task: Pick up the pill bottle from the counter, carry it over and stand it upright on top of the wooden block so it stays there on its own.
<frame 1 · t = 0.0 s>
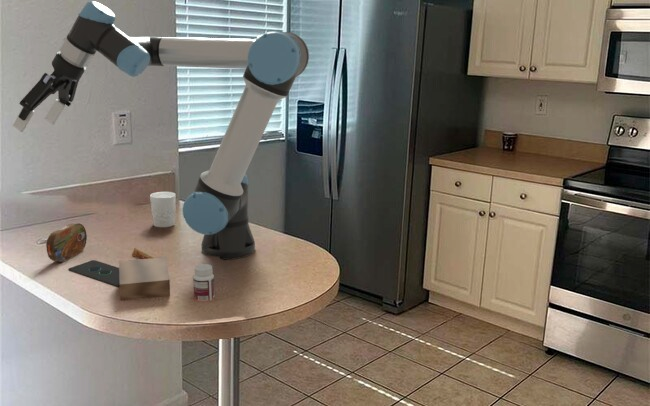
hand: (34, 125, 160), 36 cm above the worktop, tool tilted 35°, fingers open, 13 cm apart
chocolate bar: (145, 262, 167), on the worktop
white cup: (164, 225, 198), on the worktop
wooden block: (144, 288, 146), point 1 cm above the worktop, tilted 8°
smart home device: (106, 278, 155), on the worktop
tin: (68, 256, 168), on the worktop
pill bottle: (204, 301, 143), on the worktop
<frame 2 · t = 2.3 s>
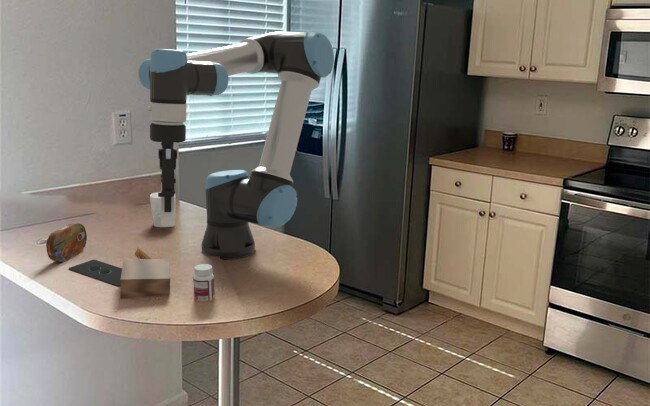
hand: (167, 218, 136), 20 cm above the worktop, tool pointing down, fingers open, 13 cm apart
wooden block: (146, 287, 147), point 1 cm above the worktop, tilted 5°, touching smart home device
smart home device: (106, 278, 156), on the worktop, touching wooden block
everything else where it was.
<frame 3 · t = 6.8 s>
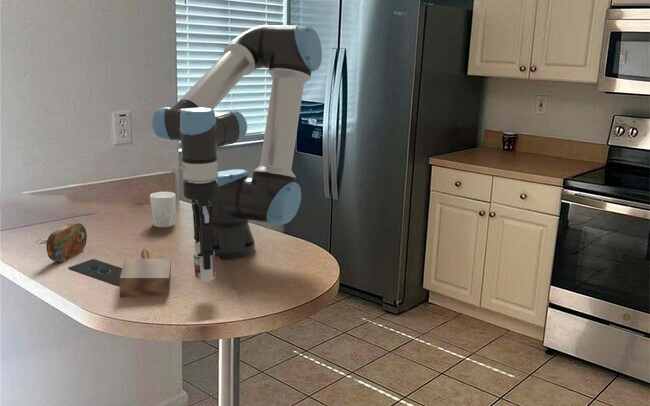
hand: (205, 276, 141), 6 cm above the worktop, tool pointing down, fingers closed on pill bottle, 5 cm apart
pill bottle: (205, 278, 142), point 5 cm above the worktop, touching gripper
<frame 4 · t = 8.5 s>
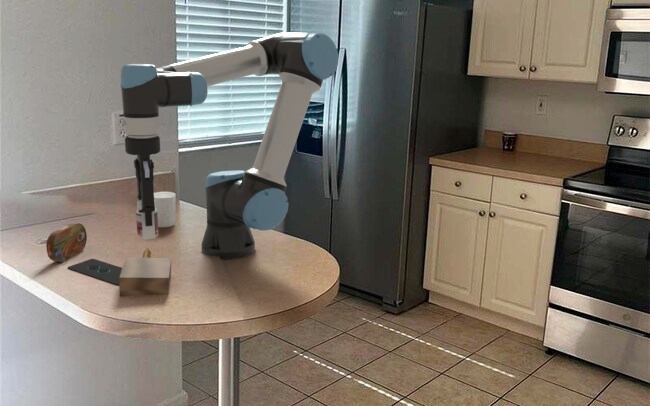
hand: (147, 234, 142), 15 cm above the worktop, tool pointing down, fingers closed on pill bottle, 5 cm apart
wooden block: (146, 286, 148), point 1 cm above the worktop, tilted 5°
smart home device: (105, 277, 156), on the worktop
pill bottle: (148, 236, 142), point 14 cm above the worktop, touching gripper
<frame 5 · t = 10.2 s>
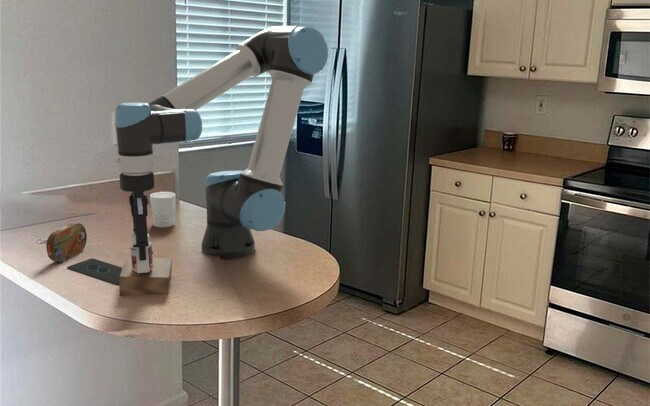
hand: (142, 267, 145), 6 cm above the worktop, tool pointing down, fingers closed on pill bottle, 5 cm apart
wooden block: (146, 285, 148), point 1 cm above the worktop, tilted 5°, touching gripper, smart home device
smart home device: (105, 277, 156), on the worktop, touching wooden block
pill bottle: (142, 269, 145), point 6 cm above the worktop, touching gripper
when the fingers open (6 cm above the worktop, at t = 10.7 s): pill bottle stays where it is, resting on wooden block.
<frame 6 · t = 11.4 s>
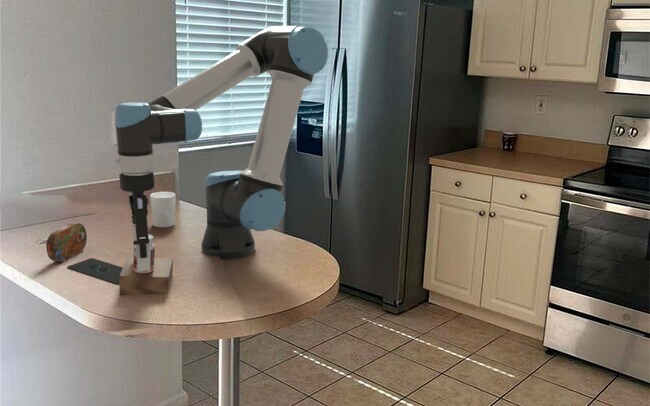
hand: (141, 259, 144), 8 cm above the worktop, tool pointing down, fingers open, 13 cm apart
wooden block: (147, 285, 148), point 1 cm above the worktop, tilted 5°, touching pill bottle, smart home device
pill bottle: (143, 270, 145), point 5 cm above the worktop, touching wooden block
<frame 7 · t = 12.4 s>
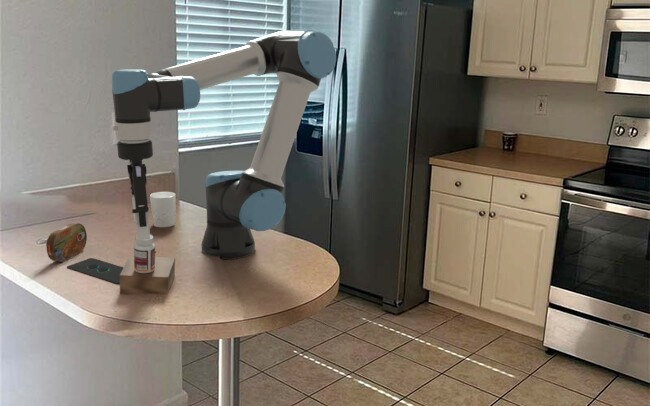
hand: (141, 230, 142), 15 cm above the worktop, tool pointing down, fingers open, 13 cm apart
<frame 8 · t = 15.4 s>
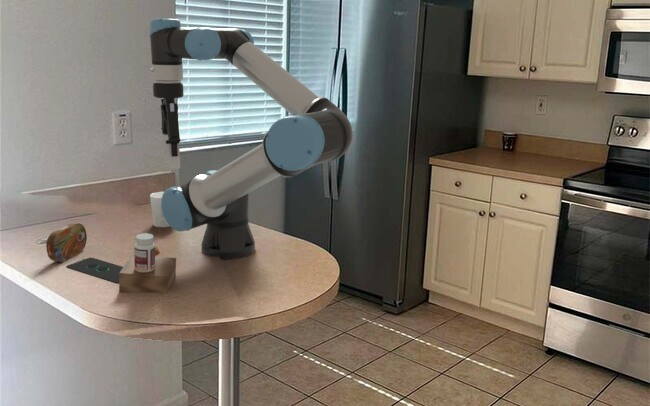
hand: (171, 163, 161), 27 cm above the worktop, tool pointing down, fingers open, 13 cm apart
at the end: pill bottle inside the target area on the wooden block (2.4 cm from its centre), point 4.7 cm above the wooden block's base; pill bottle tilted 5°; pill bottle touching wooden block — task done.
